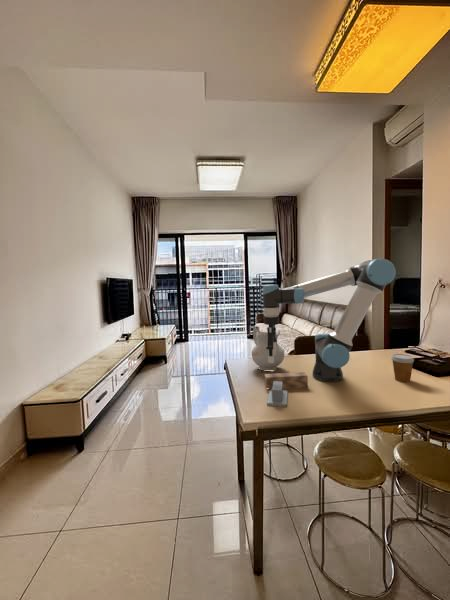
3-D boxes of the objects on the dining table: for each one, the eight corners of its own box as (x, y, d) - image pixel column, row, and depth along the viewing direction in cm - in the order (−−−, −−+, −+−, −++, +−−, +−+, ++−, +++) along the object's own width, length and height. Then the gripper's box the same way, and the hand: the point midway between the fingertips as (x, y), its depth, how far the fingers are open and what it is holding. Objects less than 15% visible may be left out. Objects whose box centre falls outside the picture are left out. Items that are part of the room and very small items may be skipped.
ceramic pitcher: (243, 370, 161) (239, 330, 157) (260, 360, 175) (258, 323, 172) (274, 378, 146) (271, 334, 143) (291, 366, 161) (288, 325, 158)
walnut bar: (304, 383, 134) (304, 372, 134) (307, 387, 129) (307, 375, 129) (265, 385, 134) (264, 374, 134) (266, 389, 129) (266, 377, 129)
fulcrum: (287, 392, 124) (287, 380, 123) (286, 406, 110) (286, 392, 110) (270, 391, 126) (269, 379, 126) (267, 405, 112) (266, 391, 112)
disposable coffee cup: (411, 377, 135) (412, 354, 135) (416, 384, 127) (416, 359, 126) (390, 375, 139) (389, 353, 139) (392, 382, 131) (392, 358, 130)
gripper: (266, 312, 144) (267, 351, 146) (260, 319, 120) (261, 365, 121) (280, 312, 142) (281, 352, 144) (277, 319, 118) (278, 366, 120)
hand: (272, 358), depth 133 cm, fingers open, 13 cm apart
